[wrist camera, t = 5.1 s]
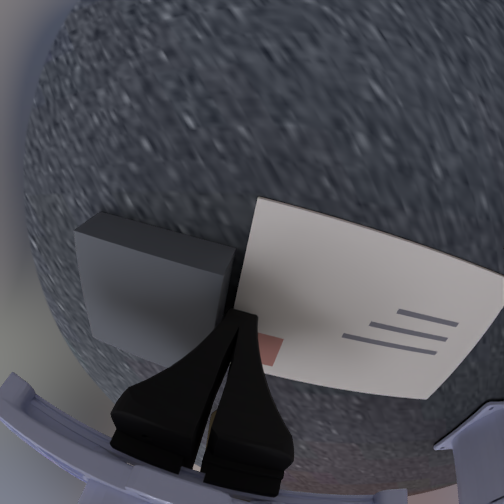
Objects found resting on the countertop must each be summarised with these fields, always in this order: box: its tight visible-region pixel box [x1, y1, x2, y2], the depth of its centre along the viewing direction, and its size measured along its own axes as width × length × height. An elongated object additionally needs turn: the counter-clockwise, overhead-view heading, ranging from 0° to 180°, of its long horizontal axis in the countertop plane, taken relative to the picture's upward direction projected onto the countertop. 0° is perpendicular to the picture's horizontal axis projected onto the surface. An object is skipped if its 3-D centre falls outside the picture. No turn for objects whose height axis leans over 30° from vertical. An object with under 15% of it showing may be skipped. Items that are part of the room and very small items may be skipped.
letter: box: [234, 196, 504, 399], centre depth 13 cm, size 14×10×1 cm
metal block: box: [74, 212, 236, 368], centre depth 14 cm, size 7×7×2 cm
